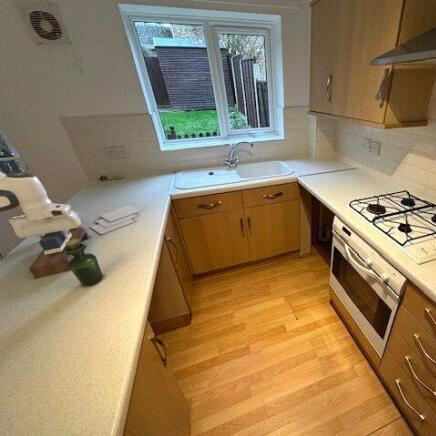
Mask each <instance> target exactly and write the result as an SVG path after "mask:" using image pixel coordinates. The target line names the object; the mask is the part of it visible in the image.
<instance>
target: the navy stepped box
mask: <svg viewBox="0 0 436 436" xmlns="http://www.w3.org/2000/svg"><path fill="white" fill-rule="evenodd" d="M64 234H65V232H63V231H58V232H52V233H47V234H43V235H42V236H43V237H42V239H41V240H40V239H39V241H38V243H39V245H40V246H41V248H42V250H44V253H45V255H46V254H51V253H56V252H60V251H62V250H63V249H64V247H65V246H66V245H65V243H66V242H68V241H69V239H70V238H71V236H72V234H71V233H69V231H68V236H69V238H68V239H63V237H62V236H63V235H64Z"/></svg>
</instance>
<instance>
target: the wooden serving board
mask: <svg viewBox="0 0 436 436" xmlns="http://www.w3.org/2000/svg"><path fill="white" fill-rule="evenodd" d="M69 233H71V234H72V236H71V238H70V239H69V241H70V240H73V239H78V240H79V243H81V241H85V240H89V239H90V235H89V232H88V231H87V229H86V228H81V229H80V230H75V231H69ZM67 248H68V247H67V246H65V247H64V249H63V250H62V251H60V252H56V253H51V254H46V255H45V253H44V250H43V249H42V250H41V252H40V253H39V254H38V256H37V257H36V258H35V259H34V261H33V262H32V263H31V265H30V266H29V267H28V270H29V272H30V273H31V275H32V276H33V277H34V279H39V278H43V277H48V276H52V275H56V274H60V273H63V272H68V271H69V272H70V271H71V269H70V268H69V267H68V265H69V261H70V260H71V259H72V257H73V256H72V255H67V254H66V251H65V250H66V249H67Z"/></svg>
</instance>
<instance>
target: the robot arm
mask: <svg viewBox="0 0 436 436" xmlns="http://www.w3.org/2000/svg"><path fill="white" fill-rule="evenodd" d="M16 208H20V209H21V210H22V212H23V213H24V214H20V215H13V216H11V217H10V218H8V223H9V224H10V226H12V228H13V231H14V233H15V235H16V236H17V237H18V238H20V239H24V238H30V237H36V238H37V239H38V240H39V241H40V240H41V239H42V237H43V236H44V235H45V234H47V233H52V232H58V231H63V232H65V234H64V235H63V236H62V237H63V239H68V238H69V236H68V231H69V229H74V228H78V227H79V226H80V225H81V224H82V221H81V219H80V217H79V215H78V216H77V215H76V213H75V210H72V209H71V205H70V204H66V203H65V204H63V203H53V202H52V200H51V199H50V198H49V197H48V193H47V190H46V189H45V187H44V185H43V184H42V182H41V181H40V180H39V178H38V177H37V176H36V175H35V174H33V173H30V172H24V171H22V172H21V171H19V172H17V171H16V172H11V173H7V172H5V171H3V170H2V169H0V212H7V211H10V210H13V209H16Z"/></svg>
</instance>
